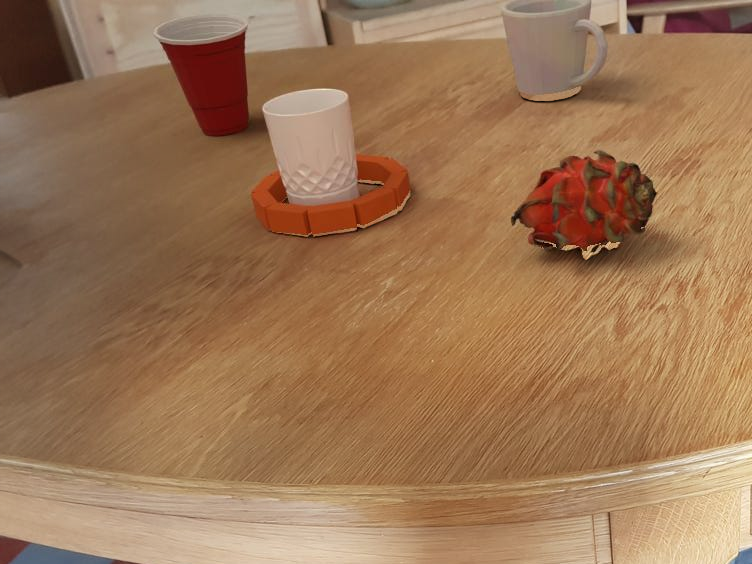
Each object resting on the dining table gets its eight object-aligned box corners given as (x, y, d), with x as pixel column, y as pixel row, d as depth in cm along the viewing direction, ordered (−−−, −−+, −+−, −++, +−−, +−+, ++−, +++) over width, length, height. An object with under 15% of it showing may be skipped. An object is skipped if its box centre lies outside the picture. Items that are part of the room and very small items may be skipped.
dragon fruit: (668, 262, 79) (528, 296, 80) (645, 175, 82) (509, 210, 83) (671, 207, 71) (515, 247, 72) (645, 113, 73) (495, 153, 75)
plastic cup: (210, 149, 110) (180, 39, 103) (166, 133, 117) (136, 28, 109) (288, 123, 115) (265, 16, 108) (242, 109, 122) (217, 7, 115)
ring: (228, 215, 93) (222, 191, 91) (350, 167, 101) (346, 144, 99) (315, 251, 84) (309, 225, 83) (441, 195, 92) (438, 171, 90)
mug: (553, 75, 121) (549, -11, 115) (638, 95, 111) (639, 1, 105) (490, 96, 116) (482, 7, 110) (573, 119, 106) (570, 22, 100)
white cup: (275, 224, 90) (249, 117, 84) (300, 192, 96) (278, 90, 90) (354, 222, 88) (334, 112, 82) (375, 190, 94) (357, 86, 88)
